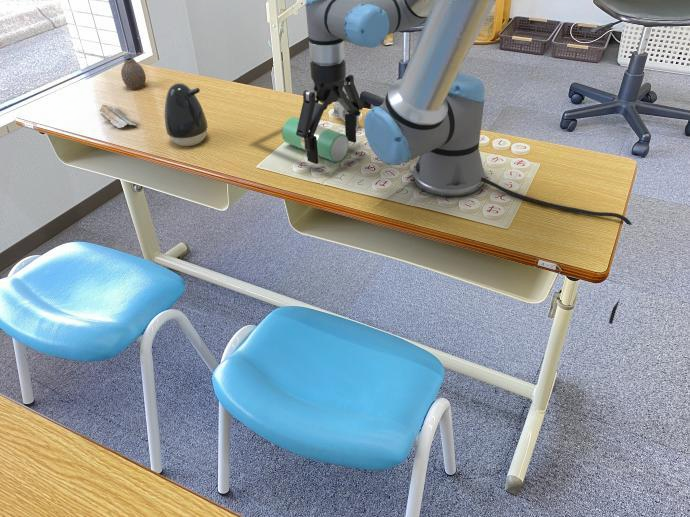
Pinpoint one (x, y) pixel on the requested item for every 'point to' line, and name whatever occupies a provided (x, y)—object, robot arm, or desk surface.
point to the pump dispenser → (184, 116)
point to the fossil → (115, 116)
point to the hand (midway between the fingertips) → (332, 151)
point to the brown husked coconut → (133, 74)
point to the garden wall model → (341, 112)
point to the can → (318, 140)
